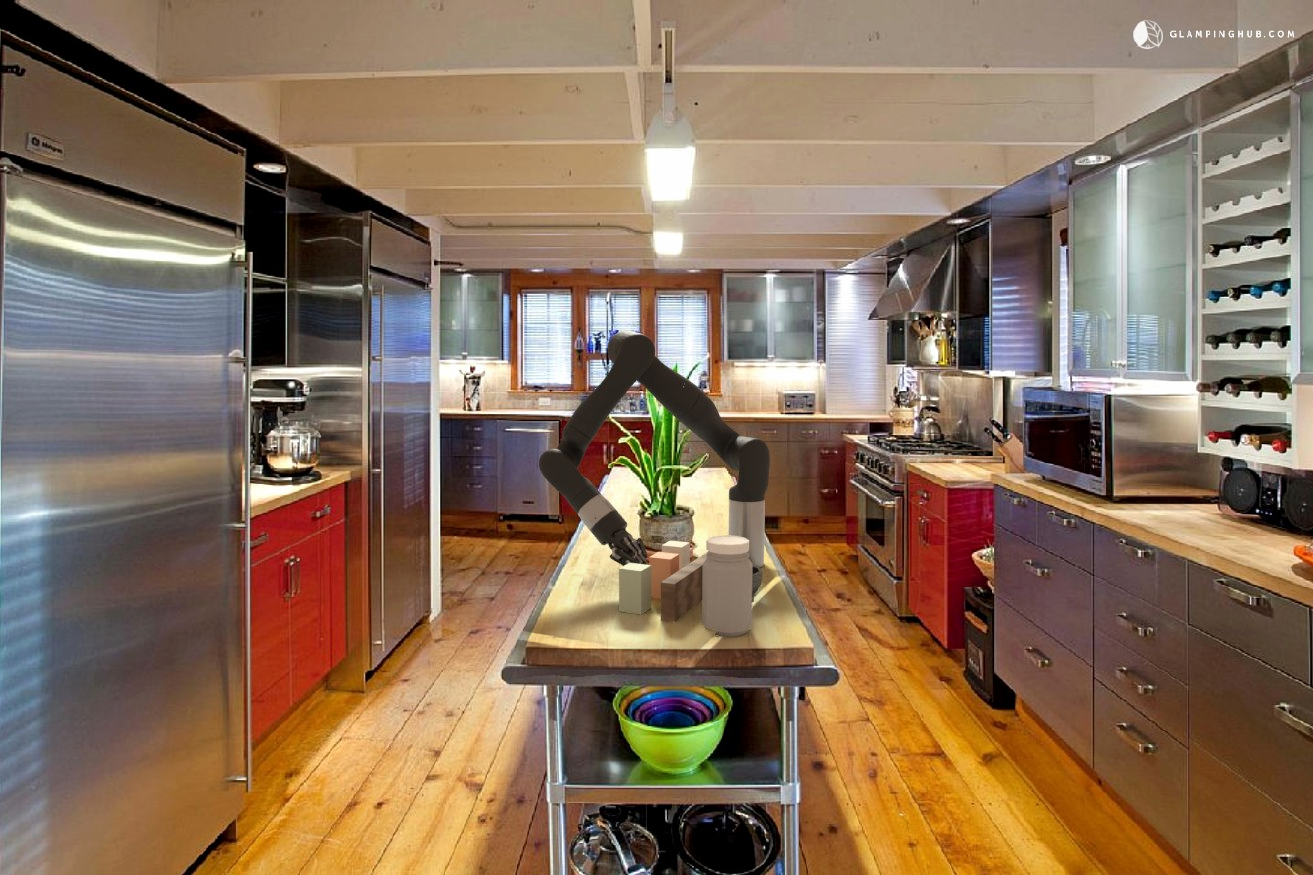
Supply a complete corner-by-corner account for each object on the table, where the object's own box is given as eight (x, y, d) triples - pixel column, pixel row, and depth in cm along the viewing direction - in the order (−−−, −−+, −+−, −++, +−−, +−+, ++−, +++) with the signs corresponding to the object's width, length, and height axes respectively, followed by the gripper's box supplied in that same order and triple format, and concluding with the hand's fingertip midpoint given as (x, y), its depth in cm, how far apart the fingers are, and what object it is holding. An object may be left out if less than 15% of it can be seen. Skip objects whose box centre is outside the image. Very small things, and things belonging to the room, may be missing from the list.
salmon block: (658, 591, 172) (658, 551, 171) (679, 593, 170) (679, 554, 169) (649, 597, 168) (649, 556, 167) (670, 600, 166) (670, 559, 165)
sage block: (629, 604, 163) (629, 562, 162) (651, 607, 161) (651, 565, 160) (619, 611, 158) (618, 568, 158) (641, 614, 156) (641, 571, 156)
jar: (747, 620, 156) (749, 534, 155) (755, 638, 147) (757, 545, 145) (699, 621, 156) (700, 534, 154) (704, 638, 146) (705, 546, 145)
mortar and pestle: (716, 593, 175) (717, 541, 174) (757, 593, 175) (758, 541, 174) (721, 609, 164) (722, 554, 163) (765, 609, 164) (766, 554, 163)
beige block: (670, 577, 183) (670, 540, 182) (689, 580, 181) (689, 542, 180) (661, 583, 178) (661, 545, 178) (681, 585, 176) (681, 547, 176)
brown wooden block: (655, 579, 186) (655, 542, 185) (723, 587, 179) (724, 550, 178) (596, 616, 159) (596, 574, 158) (674, 628, 152) (674, 583, 151)
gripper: (598, 514, 166) (650, 575, 163) (625, 503, 178) (674, 561, 175) (577, 535, 169) (627, 597, 165) (605, 524, 181) (653, 581, 177)
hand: (651, 578), depth 170 cm, fingers closed
